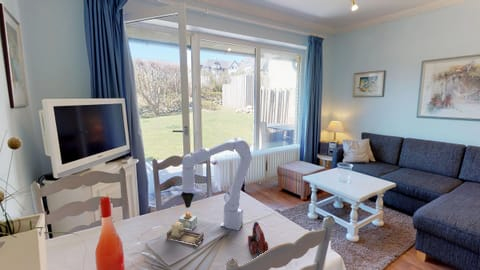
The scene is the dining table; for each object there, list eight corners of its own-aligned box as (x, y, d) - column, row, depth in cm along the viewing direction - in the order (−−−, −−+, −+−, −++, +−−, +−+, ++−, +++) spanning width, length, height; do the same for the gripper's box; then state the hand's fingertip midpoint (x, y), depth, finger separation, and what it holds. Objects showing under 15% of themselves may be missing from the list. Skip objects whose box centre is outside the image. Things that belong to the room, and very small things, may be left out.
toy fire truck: (261, 238, 106) (262, 217, 104) (269, 256, 94) (271, 233, 92) (246, 239, 104) (247, 218, 103) (252, 258, 92) (254, 234, 91)
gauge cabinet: (196, 225, 114) (196, 216, 113) (191, 231, 109) (191, 221, 108) (184, 222, 116) (184, 213, 115) (178, 228, 111) (178, 218, 110)
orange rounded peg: (191, 218, 112) (191, 212, 112) (188, 220, 110) (188, 215, 110) (187, 217, 113) (187, 211, 113) (184, 219, 111) (184, 214, 110)
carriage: (184, 234, 104) (184, 223, 103) (179, 238, 100) (179, 227, 99) (175, 231, 105) (175, 220, 104) (170, 236, 102) (170, 224, 101)
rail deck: (203, 238, 103) (203, 232, 103) (197, 246, 98) (197, 240, 97) (174, 231, 108) (174, 225, 107) (166, 239, 102) (166, 232, 101)
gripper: (206, 179, 110) (205, 206, 112) (179, 175, 114) (179, 200, 117) (199, 184, 104) (198, 212, 106) (171, 179, 108) (171, 206, 110)
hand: (188, 206), depth 111 cm, fingers closed
